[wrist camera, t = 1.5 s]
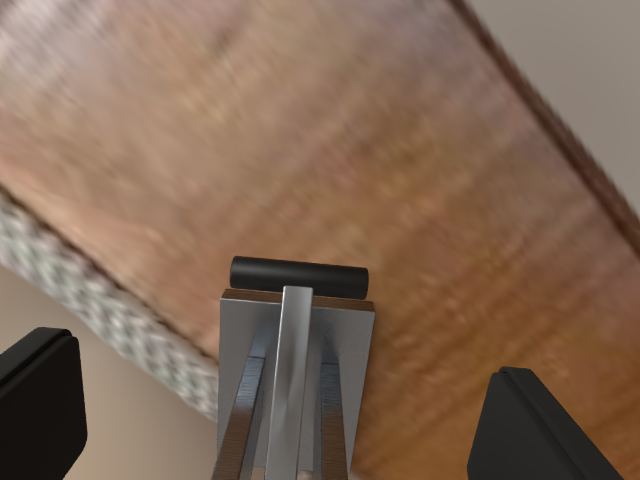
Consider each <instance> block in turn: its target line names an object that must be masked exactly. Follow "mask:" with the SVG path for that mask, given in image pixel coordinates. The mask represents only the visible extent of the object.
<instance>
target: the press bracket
mask: <svg viewBox="0 0 640 480" xmlns="http://www.w3.org/2000/svg"><path fill="white" fill-rule="evenodd" d="M282 297H283V294H278V293H267V292H256V291H245V290H233V289H226V290H225V291H224V293H223V295H222V297H221V299H220V344H219V390H218V437H217V461H216V464H215V467H214V471H213V474H212V477H211V480H251V475H252V469H253V467H265V466H266V457H267V447H268V437H269V427H270V417H271V407H272V397H273V387H274V377H275V367H276V357H277V347H278V337H279V327H280V317H281V307H282ZM374 319H375V309H374V306H373V302H367V301H356V300H345V299H334V298H322V297H313V304H312V315H311V326H310V337H309V348H308V359H307V370H306V381H305V392H304V403H303V414H302V425H301V436H300V447H299V458H298V469H297V470H305V471H313V480H348V474H349V473H350V468H351V462H352V456H353V449H354V443H355V437H356V431H357V424H358V418H359V412H360V406H361V400H362V393H363V387H364V381H365V375H366V368H367V362H368V356H369V350H370V344H371V337H372V331H373V325H374Z"/></svg>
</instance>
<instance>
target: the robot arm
mask: <svg viewBox="0 0 640 480" xmlns="http://www.w3.org/2000/svg"><path fill="white" fill-rule="evenodd" d="M86 441H87V423H86V413H85V402H84V392H83V381H82V371H81V360H80V350H79V342H78V339H77V338H76V337H73V336H72V334H71V332H70V331H69V330H67V329H59V328H47V327H38V328H37V329H34V330H33V331H31V332H30V333H29V334H27V335H26V336H25V337H23V338H22V339H21V340H19V341H18V342H17V343H15V344H14V345H13V346H11V347H10V348H9V349H7V350H6V351H5V352H4V353H2V354H0V480H63V478H64V477H65V475H66V474H67V473H68V471H69V470H70V468H71V467H72V465H73V464H74V463H75V461H76V460H77V458H78V457H79V456H80V454H81V453H82V451H83V449H84V447H85V444H86ZM467 473H468V479H469V480H624V479H623V478H622V477H621V476H620V475H619V473H618V472H617V471H616V470H615V469H614V467H613V466H612V465H611V464H610V463H609V461H608V460H607V459H606V458H605V457H604V456H603V454H602V453H601V452H600V451H599V450H598V448H597V447H596V446H595V445H594V444H593V442H592V441H591V440H590V439H589V438H588V437H587V435H586V434H585V433H584V432H583V431H582V429H581V428H580V427H579V426H578V425H577V423H576V422H575V421H574V420H573V419H572V418H571V416H570V415H569V414H568V413H567V412H566V410H565V409H564V408H563V407H562V406H561V404H560V403H559V402H558V401H557V400H556V399H555V397H554V396H553V395H552V394H551V393H550V391H549V390H548V389H547V388H546V387H545V385H544V384H543V383H542V382H541V381H540V380H539V378H538V377H537V376H536V375H535V374H534V372H532V371H531V370H530V369H527V368H515V367H501V368H500V370H499V371H498V373H497V372H495V373H493V374H492V376H491V378H490V382H489V386H488V389H487V393H486V397H485V401H484V404H483V408H482V412H481V415H480V419H479V423H478V427H477V430H476V434H475V438H474V441H473V445H472V449H471V453H470V456H469V460H468V465H467Z"/></svg>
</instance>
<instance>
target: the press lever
mask: <svg viewBox="0 0 640 480" xmlns="http://www.w3.org/2000/svg"><path fill="white" fill-rule="evenodd" d="M368 283H369V274H368V269H367V268H361V267H351V266H340V265H329V264H318V263H307V262H296V261H286V260H275V259H264V258H253V257H242V256H235V257H234V258H233V260H232V264H231V269H230V286H231V287H232V288H236V289H248V290H259V291H270V292H281V293H283V297H282V307H281V317H280V327H279V337H278V347H277V357H276V367H275V377H274V387H273V397H272V407H271V417H270V427H269V437H268V447H267V457H266V466H265V477H264V480H297V469H298V458H299V447H300V436H301V425H302V414H303V403H304V392H305V381H306V370H307V359H308V348H309V337H310V326H311V315H312V304H313V295H314V296H325V297H336V298H348V299H359V300H364V299H365V298H366V296H367V291H368Z"/></svg>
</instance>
